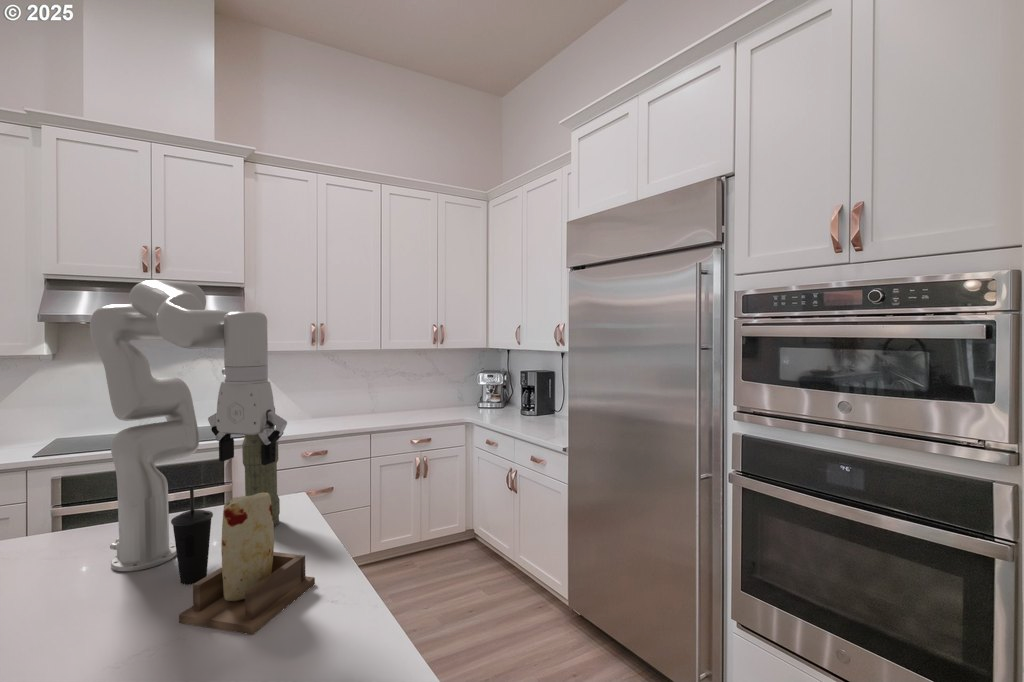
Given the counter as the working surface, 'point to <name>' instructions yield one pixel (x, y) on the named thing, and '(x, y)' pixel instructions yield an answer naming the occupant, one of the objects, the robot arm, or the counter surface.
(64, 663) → the counter surface
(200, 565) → the drinking cup
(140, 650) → the counter surface
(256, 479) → the thermos
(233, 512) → the food model
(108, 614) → the counter surface
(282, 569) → the dock
